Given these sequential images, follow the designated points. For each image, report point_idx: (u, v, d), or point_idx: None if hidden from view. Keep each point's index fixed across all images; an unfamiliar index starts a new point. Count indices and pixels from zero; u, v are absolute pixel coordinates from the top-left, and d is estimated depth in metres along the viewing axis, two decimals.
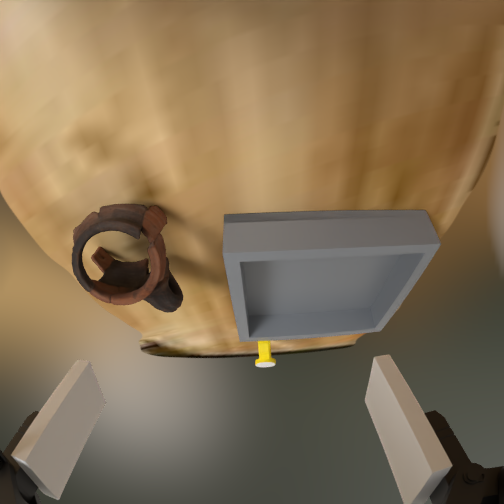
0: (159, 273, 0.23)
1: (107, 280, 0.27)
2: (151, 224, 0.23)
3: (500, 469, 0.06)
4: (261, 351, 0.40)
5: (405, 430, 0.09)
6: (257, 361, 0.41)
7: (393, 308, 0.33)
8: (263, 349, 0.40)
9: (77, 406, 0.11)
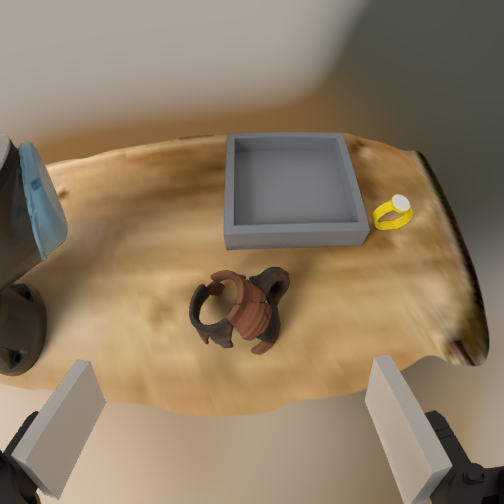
0: (226, 270, 0.35)
1: None
2: None
3: (500, 469, 0.06)
4: (383, 210, 0.39)
5: (405, 430, 0.09)
6: (396, 210, 0.38)
7: (302, 134, 0.46)
8: (381, 210, 0.39)
9: (77, 406, 0.11)
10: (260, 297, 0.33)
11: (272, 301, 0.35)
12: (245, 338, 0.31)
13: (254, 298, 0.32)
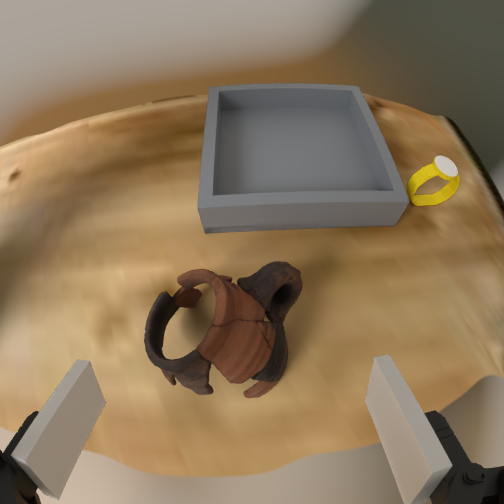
0: (200, 269, 0.21)
1: None
2: None
3: (500, 469, 0.06)
4: (424, 176, 0.26)
5: (405, 430, 0.09)
6: (442, 175, 0.25)
7: (307, 85, 0.33)
8: (421, 175, 0.26)
9: (77, 406, 0.11)
10: (255, 312, 0.19)
11: (275, 317, 0.21)
12: (231, 380, 0.18)
13: (245, 314, 0.19)
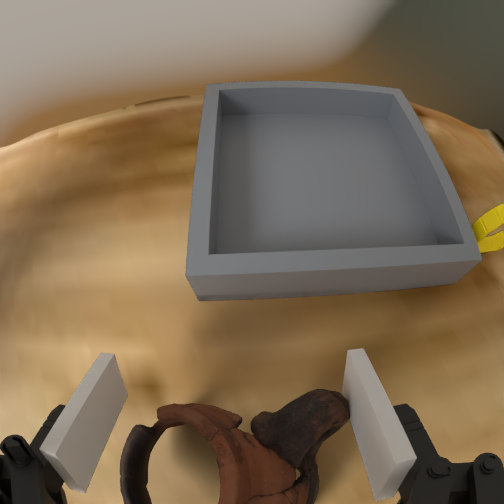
0: (191, 409, 0.12)
1: None
2: None
3: (469, 466, 0.06)
4: (497, 220, 0.17)
5: (372, 421, 0.09)
6: None
7: (337, 85, 0.25)
8: (493, 219, 0.17)
9: (103, 398, 0.11)
10: (282, 479, 0.10)
11: (308, 463, 0.12)
12: None
13: (267, 487, 0.10)
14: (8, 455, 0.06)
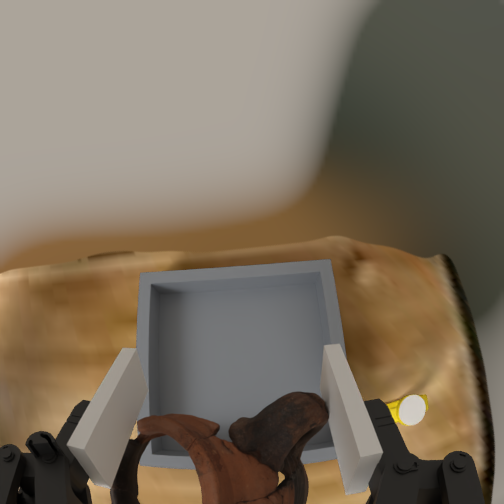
0: (168, 420, 0.12)
1: None
2: None
3: (438, 465, 0.07)
4: None
5: (343, 415, 0.10)
6: (403, 424, 0.21)
7: (261, 270, 0.29)
8: None
9: (126, 393, 0.12)
10: (264, 484, 0.10)
11: (291, 465, 0.12)
12: None
13: (250, 493, 0.10)
14: (34, 451, 0.07)
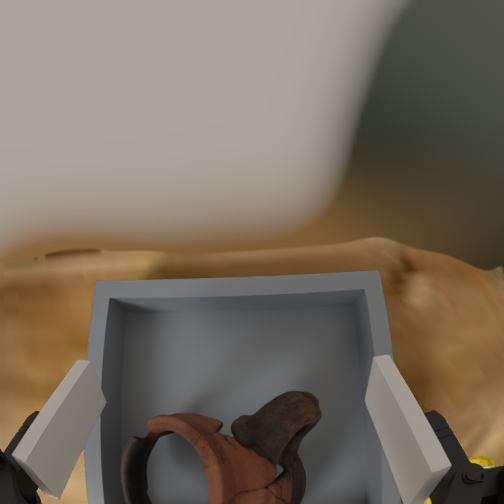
0: (176, 418, 0.13)
1: None
2: None
3: (499, 469, 0.06)
4: None
5: (404, 430, 0.09)
6: None
7: (275, 285, 0.19)
8: None
9: (78, 406, 0.11)
10: (263, 475, 0.11)
11: (289, 459, 0.13)
12: None
13: (251, 483, 0.11)
14: None
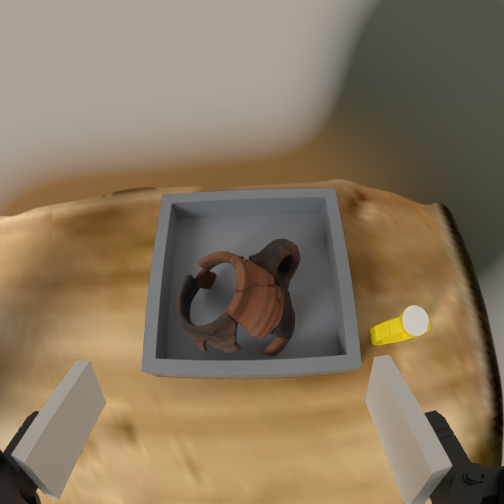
0: (218, 252, 0.26)
1: None
2: None
3: (500, 469, 0.06)
4: (387, 332, 0.24)
5: (405, 430, 0.09)
6: (407, 334, 0.23)
7: (272, 193, 0.32)
8: (384, 330, 0.25)
9: (77, 406, 0.11)
10: (267, 279, 0.25)
11: (282, 284, 0.27)
12: (255, 336, 0.23)
13: (260, 281, 0.24)
14: None
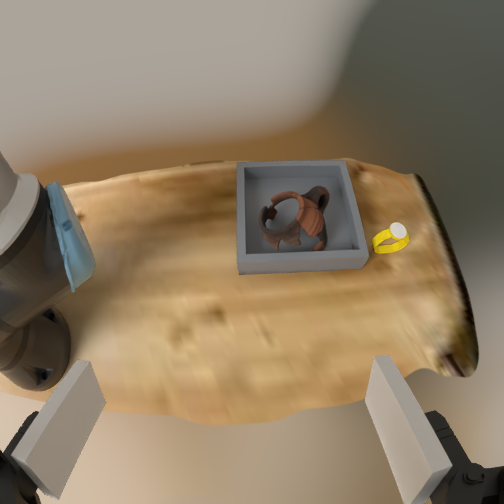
0: (283, 192, 0.45)
1: None
2: None
3: (500, 469, 0.06)
4: (382, 237, 0.43)
5: (405, 430, 0.09)
6: (394, 237, 0.42)
7: (307, 163, 0.50)
8: (380, 237, 0.43)
9: (77, 406, 0.11)
10: (314, 205, 0.43)
11: (320, 211, 0.45)
12: (310, 234, 0.41)
13: (310, 205, 0.42)
14: None
